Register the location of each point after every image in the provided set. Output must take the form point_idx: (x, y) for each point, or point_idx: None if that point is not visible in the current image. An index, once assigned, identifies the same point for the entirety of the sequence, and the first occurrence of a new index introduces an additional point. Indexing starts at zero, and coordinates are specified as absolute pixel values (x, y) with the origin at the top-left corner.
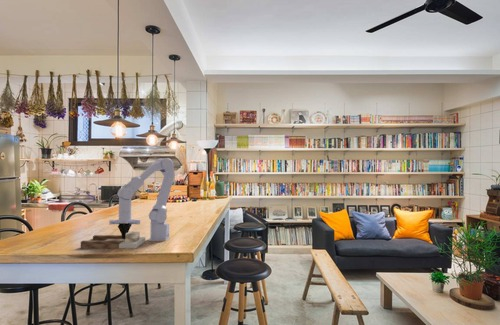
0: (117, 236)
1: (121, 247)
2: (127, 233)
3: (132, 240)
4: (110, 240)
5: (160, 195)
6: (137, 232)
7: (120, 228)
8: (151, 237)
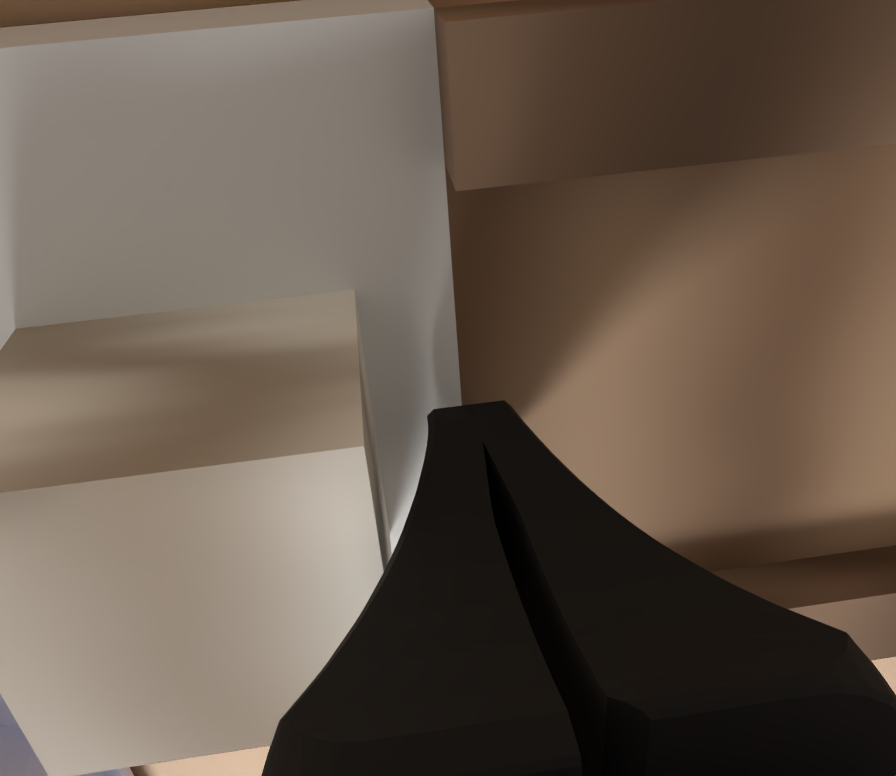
0: None
1: (339, 3)
2: (315, 504)
3: (115, 341)
4: (858, 387)
5: None
6: (11, 676)
7: (682, 616)
8: (9, 774)
